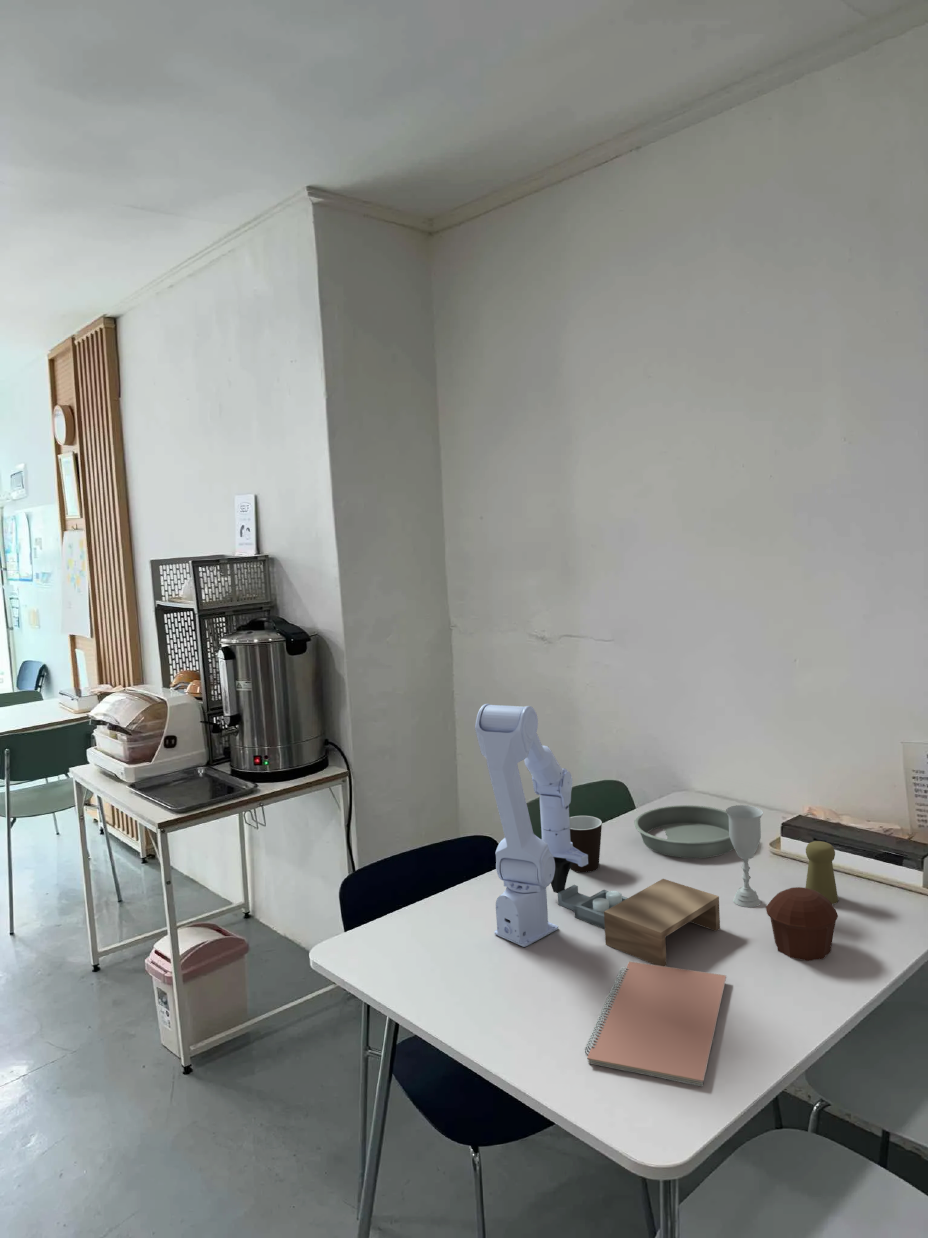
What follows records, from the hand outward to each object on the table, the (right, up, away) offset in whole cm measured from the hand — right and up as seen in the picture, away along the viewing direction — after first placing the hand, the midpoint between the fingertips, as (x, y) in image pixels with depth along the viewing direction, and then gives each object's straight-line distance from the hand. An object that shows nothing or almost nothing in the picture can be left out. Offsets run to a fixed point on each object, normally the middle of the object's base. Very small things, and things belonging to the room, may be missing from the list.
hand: (558, 891), depth 171 cm
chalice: (+36, 0, -7) cm, 36 cm away
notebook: (+10, -6, -43) cm, 45 cm away
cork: (+50, +1, -7) cm, 50 cm away
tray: (+6, -2, -7) cm, 10 cm away
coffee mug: (+7, +1, +16) cm, 18 cm away
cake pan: (+33, +3, +26) cm, 42 cm away
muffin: (+39, -2, -25) cm, 46 cm away
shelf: (+17, -2, -18) cm, 25 cm away
